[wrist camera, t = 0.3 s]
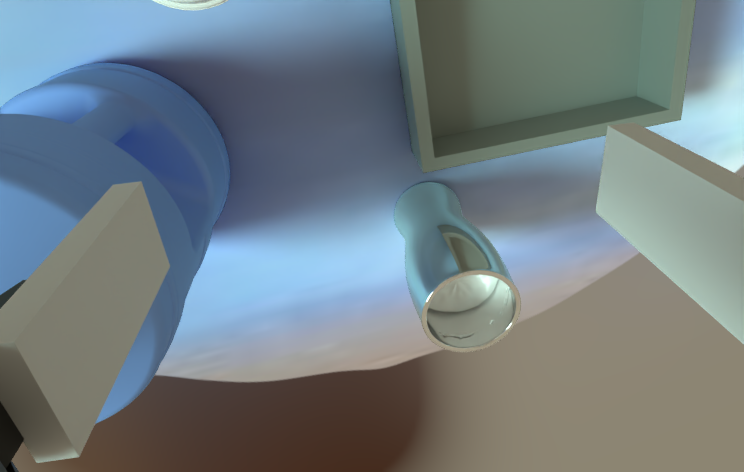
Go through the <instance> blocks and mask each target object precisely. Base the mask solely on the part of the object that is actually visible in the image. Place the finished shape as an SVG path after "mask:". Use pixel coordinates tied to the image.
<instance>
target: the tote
mask: <svg viewBox="0 0 744 472" xmlns="http://www.w3.org/2000/svg"><path fill="white" fill-rule="evenodd" d="M390 4H391V11H392V18H393V25H394V32H395V38H396V45H397V52H398V59H399V66H400V72H401V79H402V86H403V93H404V100H405V106H406V113H407V120H408V127H409V134H410V140H411V147H412V152H413V154H414V156H415V158H416V160H417V162H418V164H419V166H420V168H421V170H422V172H423V173H426V172H431V171H436V170H441V169H446V168H451V167H455V166H460V165H465V164H470V163H475V162H480V161H484V160H489V159H494V158H499V157H504V156H509V155H513V154H518V153H523V152H528V151H533V150H538V149H543V148H547V147H552V146H557V145H562V144H567V143H572V142H576V141H581V140H586V139H591V138H596V137H601V136H605V135H607V128H608V125H616V124H625V123H633V122H634V123H636V124H638V125H640V126H642V127H649V126H654V125H659V124H664V123H668V122H673V121H678V120H681V115H682V107H683V100H684V92H685V84H686V76H687V68H688V60H689V52H690V44H691V36H692V29H693V21H694V13H695V5H696V0H390Z"/></svg>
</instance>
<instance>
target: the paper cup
mask: <svg viewBox="0 0 744 472" xmlns="http://www.w3.org/2000/svg"><path fill="white" fill-rule="evenodd" d="M153 1H155V2H157V3H159V4H162V5H165V6H168V7H171V8H176V9H181V10H202V9H209V8H212V7H215V6H218V5H221V4H222V3H224V2H226V1H228V0H153Z"/></svg>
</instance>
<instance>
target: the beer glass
mask: <svg viewBox="0 0 744 472" xmlns="http://www.w3.org/2000/svg"><path fill="white" fill-rule="evenodd" d="M394 222H395V225H396V228H397V230H398V231H399V233H400V234H401V235H402V236H403V238H404V239H405V272H406V280H407V284H408V289H409V293H410V296H411V298H412V301H413V304H414V307H415V309H416V311H417V314H418V316H419V318H420V320H421V323H422V326H423V329H424V331H425V333H426V335H427V336H428V338H429V339H430V340H431V341H432V342H433V343H435V344H436V345H438V346H439V347H441V348H444V349H446V350H450V351H455V352H472V351H477V350H481V349H484V348H486V347H489V346H491V345H493V344H495V343H496V342H498V341H500V340H501V339H502V338H503V337H505V336H506V335H507V334H508V333H509V332H510V331H511V329H512V328H513V327H514V325H515V323H516V322H517V320H518V317H519V314H520V310H521V299H520V295H519V292H518V290H517V288H516V286H515V285H514V283H513V281H512V278H511V276H510V274H509V272H508V269H507V267H506V265H505V263H504V262H503V260H502V258H501V256H500V255H499V253H498V251H497V250H496V249H495V247H494V246H493V244H492V243H491V242H490V241H489V239H488V238H487V237H486V236H485V235H484V234H483V233H482V232H481V231H480V230H479V229H478V228H476V227H475V226H474V225H473V224H472V223H471V222H469V221H468V220H467V219H466V218H465V217H464V216H463V215H462V212H461V206H460V202H459V200H458V198H457V196H456V195H455V193H454V192H453V191H452V190H451V189H450V188H448V187H447V186H445V185H443V184H440V183H436V182H423V183H419V184H416V185H414V186H412V187H410V188H409V189H407V190H406V191H405V192H404V193H403V194H402V195H401V196H400V198H399V199H398V201H397V203H396V205H395V209H394Z"/></svg>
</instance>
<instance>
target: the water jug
mask: <svg viewBox="0 0 744 472" xmlns="http://www.w3.org/2000/svg"><path fill="white" fill-rule="evenodd" d="M140 181H142V184H143V187H144V190H145V193H146V196H147V199H148V202H149V205H150V208H151V211H152V214H153V217H154V220H155V223H156V226H157V229H158V232H159V234H160V237H161V240H162V243H163V246H164V249H165V252H166V255H167V258H168V261H169V264H170V268H169V270H168V272H167V274H166V276H165V278H164V280H163V282H162V284H161V286H160V289H159V291H158V293H157V295H156V297H155V299H154V301H153V303H152V305H151V307H150V309H149V312H148V314H147V316H146V318H145V320H144V322H143V324H142V326H141V328H140V330H139V333H138V335H137V337H136V339H135V341H134V343H133V345H132V347H131V349H130V351H129V354H128V356H127V358H126V360H125V362H124V364H123V366H122V368H121V370H120V372H119V374H118V377H117V379H116V381H115V383H114V385H113V387H112V389H111V391H110V393H109V395H108V398H107V400H106V402H105V404H104V406H103V408H102V410H101V412H100V414H99V416H98V418H97V421H96V423H98V422H100V421H102V420H105V419H107V418H108V417H110V416H112V415H114V414H115V413H117V412H119V411H120V410H122V409H123V408H124V407H126V406H127V405H128V404H130V403H131V402H132V401H133V400H134V399H135V398H136V397H137V396H139V394H140V393H141V392H142V391H143V390H144V389H145V388H146V386H147V385H148V384H149V383H150V381H151V380H152V378H153V376H154V375H155V373H156V371H157V370H158V368H159V365H160V363H161V361H162V360H163V358H164V356H165V354H166V353H167V351H168V349H169V347H170V345H171V343H172V340H173V338H174V335H175V333H176V330H177V327H178V325H179V322H180V319H181V316H182V312H183V308H184V303H185V299H186V296H187V294H188V291H189V289H190V286H191V284H192V281H193V278H194V276H195V275H196V273H197V271H198V270H199V268H200V266H201V264H202V261H203V259H204V256H205V254H206V251H207V248H208V245H209V242H210V238H211V233H212V228H213V226H214V224H215V223H216V221H217V219H218V218H219V216H220V214H221V212H222V210H223V208H224V205H225V202H226V198H227V195H228V190H229V184H230V164H229V158H228V153H227V149H226V146H225V143H224V141H223V138H222V136H221V134H220V132H219V130H218V128H217V126H216V124H215V123H214V121H213V120H212V118H211V117H210V116H209V114H208V113H207V112H206V110H205V109H204V108H203V107H202V106H201V105H200V104H199V103H198V102H197V101H196V100H195V99H194V98H193V97H192V96H191V95H190V94H189V93H187V92H186V91H185V90H184V89H182V88H181V87H179V86H178V85H176V84H175V83H173V82H172V81H170V80H168V79H166V78H164V77H162V76H160V75H158V74H156V73H153V72H151V71H148V70H145V69H142V68H139V67H135V66H131V65H125V64H118V63H94V64H87V65H82V66H78V67H74V68H71V69H69V70H66V71H64V72H61V73H59V74H57V75H54V76H52V77H50V78H49V79H47V80H45V81H44V82H42V83H41V84H39V85H38V86H36V87H33V88H31V89H29V90H26V91H24V92H22V93H20V94H18V95H17V96H15V97H13V98H12V99H10V100H9V101H8V102H6V103H5V104H4V105H3V106H2V107H1V108H0V295H1V294H3V293H4V292H6V291H7V290H9V289H10V288H12V287H13V286H15V285H16V284H18V283H19V282H21V281H22V280H27V279H28V278H29V277H30V276H31V275H32V273H33V272H34V271H35V270H36V269H37V268H38V267H39V266H40V265H41V264H42V262H43V261H44V260H45V259H46V258H47V257H48V256H49V255H50V254H51V253H52V251H53V250H54V249H55V248H56V247H57V246H58V245H59V244H60V243H61V241H62V240H63V239H64V238H65V237H66V236H67V235H68V234H69V233H70V232H71V230H72V229H73V228H74V227H75V226H76V225H77V224H78V223H79V222H80V221H81V219H82V218H83V217H84V216H85V215H86V214H87V213H88V212H89V211H90V210H91V208H92V207H93V206H94V205H95V204H96V203H97V202H98V201H99V200H100V199H101V197H102V196H103V195H104V194H105V193H106V192H107V191H108V190H109V189H110V188H111V186H112V185H115V184H123V183H131V182H140ZM96 423H95V424H96Z"/></svg>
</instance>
